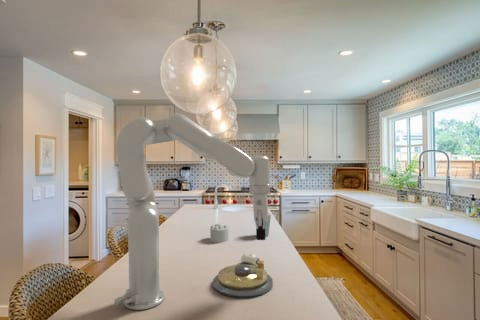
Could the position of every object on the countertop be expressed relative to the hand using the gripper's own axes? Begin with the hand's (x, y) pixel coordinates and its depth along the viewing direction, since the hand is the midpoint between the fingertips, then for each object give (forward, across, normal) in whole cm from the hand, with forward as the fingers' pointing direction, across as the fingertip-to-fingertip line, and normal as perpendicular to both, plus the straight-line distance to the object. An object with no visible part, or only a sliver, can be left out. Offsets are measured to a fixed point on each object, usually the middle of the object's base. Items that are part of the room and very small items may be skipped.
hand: (261, 239), depth 108 cm
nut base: (+17, 0, +7) cm, 18 cm away
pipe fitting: (+17, +22, +5) cm, 29 cm away
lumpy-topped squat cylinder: (+17, +60, +27) cm, 68 cm away
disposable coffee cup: (+17, +71, +2) cm, 73 cm away
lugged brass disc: (+15, 0, +7) cm, 17 cm away
